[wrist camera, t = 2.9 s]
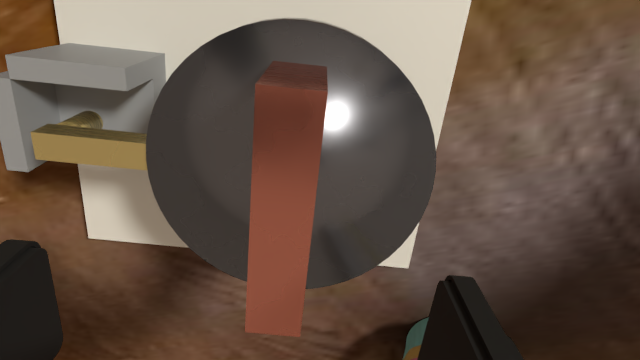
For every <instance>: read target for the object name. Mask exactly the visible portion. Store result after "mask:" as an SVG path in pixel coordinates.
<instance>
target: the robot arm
mask: <svg viewBox="0 0 640 360" xmlns="http://www.w3.org/2000/svg"><path fill="white" fill-rule="evenodd" d="M62 342H63V333H62V327H61V322H60V317H59V312H58V306H57V301H56V296H55V291H54V286H53V280H52V275H51V270H50V265H49V260H48V254H47V251H46V250H45V249H43V248H41V247H40V245H39V244H38V243H37V242H35V241H23V240H6V241H4V242H3V243H1V244H0V360H53V359H54V357H55V356H56V355H57V353H58V352H59V350H60V348H61V345H62ZM417 360H524V359H523V358H522V356H521V354H520V352H519V351H518V349H517V347H516V345H515V344H514V342H513V341H512V340H511V338H509V337H508V336H506V334H505V333H504V331H503V329H502V327H501V325H500V324H499V322H498V320H497V318H496V317H495V315H494V313H493V311H492V310H491V308H490V306H489V304H488V302H487V301H486V299H485V297H484V295H483V294H482V292H481V290H480V288H479V287H478V285H477V283H476V281H475V280H474V279H473V278H472V277H465V276H452V275H449V276H447V277H446V279H445V281H439V283H438V285H437V289H436V292H435V296H434V300H433V303H432V307H431V311H430V314H429V318H428V322H427V325H426V329H425V333H424V337H423V340H422V344H421V348H420V351H419V355H418V359H417Z"/></svg>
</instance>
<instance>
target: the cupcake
mask: <svg viewBox="0 0 640 360" xmlns="http://www.w3.org/2000/svg"><path fill="white" fill-rule="evenodd" d="M428 318H429V317H428ZM428 318H425V319H423V320H421V321H419V322H418V323H416V324H415V325H414V326H413V327H412V328H411V329H410V331H409V333H408V335H407V339H406V347H405V352H404V356H403V359H402V360H417V359H418V355H419V351H420V348H421V344H422V340H423V337H424V333H425V329H426V325H427V322H428Z"/></svg>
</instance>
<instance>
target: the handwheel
mask: <svg viewBox="0 0 640 360" xmlns="http://www.w3.org/2000/svg"><path fill="white" fill-rule="evenodd" d="M102 128H103V120H102V118H101V116H100V115H99V114H97V113H96V112H93V111H83V112H81V113H79V114H77V115H75V116H73V117H71V118H69V119H67V120H64V121H62V122H60V123H58V124H46V125H44V126H42V127H40V128H38V129H36V130H34V131H31V132H30V133H31V138H32V143H33V149H34V154H35V159H37V160H47V161H57V162H67V163H77V164H87V165H97V166H107V167H117V168H127V169H137V170H147V171H148V177H149V180H150V184H151V187H152V191H153V194H154V196H155V199H156V201H157V203H158V206H159V208H160V210H161V212H162V213H163V215H164V217H165V218H166V220H167V222H168V223H169V225H170V226H171V227H172V229H173V230H174V231H175V233H176V234H177V235H178V236H179V238H180V239H181V240H182V241H183V242H184V243H185V244H186V245H187V246H188V247H189V248H190V249H191V250H192V251H194V252H195V253H196V254H197V255H198V256H200V257H201V258H202V259H203V260H205V261H206V262H208V263H209V264H211V265H213V266H214V267H216V268H217V269H219V270H221V271H223V272H225V273H227V274H229V275H231V276H233V277H236V278H238V279H241V280H244V281H247V299H246V323H245V332H249V333H261V334H272V335H283V336H295V337H300V332H301V323H302V315H303V306H304V297H305V289H313V288H319V287H325V286H331V285H334V284H338V283H341V282H344V281H347V280H350V279H352V278H355V277H357V276H359V275H362V274H364V273H365V272H367V271H369V270H371V269H373V268H374V267H376V266H377V265H379V264H380V263H382V262H383V261H384V260H386V259H387V258H389V257H390V256H391V255H392V254H393V253H394V252H395V251H396V250H397V249H398V248H399V247H401V245H402V244H403V243H404V242H405V241H406V240H407V238H408V237H409V236H410V235H411V234H412V232H413V231H414V229H415V227H416V226H417V224H418V223H419V221H420V220H421V218H422V215H423V213H424V211H425V209H426V207H427V205H428V202H429V199H430V196H431V192H432V189H433V184H434V178H435V172H436V148H435V139H434V133H433V130H432V126H431V122H430V118H429V116H428V113H427V111H426V109H425V106H424V104H423V102H422V99H421V98H420V96H419V94H418V93H417V91H416V90H415V88H414V86H413V85H412V83H411V82H410V81H409V79H408V78H407V77H406V76H405V74H404V73H403V72H402V71H401V70H400V68H399V67H398V66H397V65H396V64H395V63H394V62H393V61H392V60H391V59H389V58H388V57H387V56H386V55H385V54H384V53H383V52H382V51H381V50H380V49H378V48H377V47H376V46H374V45H373V44H371V43H370V42H368V41H367V40H365V39H364V38H363V37H361V36H359V35H357V34H355V33H353V32H351V31H349V30H347V29H345V28H342V27H339V26H336V25H333V24H330V23H327V22H323V21H317V20H312V19H306V18H276V19H266V20H262V21H258V22H254V23H250V24H246V25H243V26H241V27H238V28H236V29H233V30H231V31H228V32H226V33H223V34H221V35H219V36H217V37H215V38H214V39H212V40H210V41H208V42H207V43H205V44H203V45H202V46H200V47H199V48H198V49H197V50H195V51H194V52H193V53H192V54H190V55H189V56H188V57H187V58H186V59H185V60H184V61H183V62H182V63H181V64H180V65H179V66H178V67H177V68H176V70H175V71H174V72H173V73H172V74H171V76H170V77H169V79H168V80H167V82H166V83H165V85H164V86H163V88H162V89H161V92H160V94H159V96H158V98H157V100H156V102H155V104H154V107H153V110H152V113H151V117H150V120H149V123H148V130H147V134H145V133H135V132H125V131H115V130H106V129H102Z"/></svg>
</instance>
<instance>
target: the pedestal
mask: <svg viewBox="0 0 640 360" xmlns="http://www.w3.org/2000/svg"><path fill="white" fill-rule="evenodd" d="M470 4H471V0H54V6H55V13H56V20H57V27H58V33H59V40H60V45H55V46H50V47H45V48H40V49H34V50H29V51H24V52H18V53H13V54H8V55H5V57H6V62H7V67H8V71H6V72H2V73H0V141H1V145H2V150H3V154H4V159H5V163H6V167H7V170H12V171H22V172H30V171H31V170H33V169H35V168H36V167H38V166H40V165H41V164H43V163H45V162H46V161H47V160H37V159H35V154H34V149H33V143H32V138H31V133H30V132H31V131H34V130H36V129H38V128H40V127H42V126H44V125H46V124H58V123H60V122H62V121H64V120H67V119H69V118H71V117H73V116H75V115H77V114H79V113H81V112H83V111H93V112H96V113H97V114H99V115H100V116H101V118H102V120H103V128H102V129H106V130H115V131H125V132H135V133H145V134H147V130H148V123H149V120H150V117H151V113H152V110H153V107H154V104H155V102H156V100H157V98H158V96H159V94H160V92H161V89H162V88H163V86H164V85H165V83H166V82H167V80H168V79H169V77H170V76H171V74H172V73H173V72H174V71H175V70H176V68H177V67H178V66H179V65H180V64H181V63H182V62H183V61H184V60H185V59H186V58H187V57H188V56H189V55H190V54H192V53H193V52H194V51H195V50H197V49H198V48H199V47H200V46H202V45H203V44H205V43H207V42H208V41H210V40H212V39H214V38H215V37H217V36H219V35H221V34H223V33H226V32H228V31H231V30H233V29H236V28H238V27H241V26H243V25H246V24H250V23H254V22H258V21H262V20H266V19H276V18H306V19H312V20H317V21H323V22H327V23H330V24H333V25H336V26H339V27H342V28H345V29H347V30H349V31H351V32H353V33H355V34H357V35H359V36H361V37H363V38H364V39H365V40H367V41H368V42H370V43H371V44H373V45H374V46H376V47H377V48H378V49H380V50H381V51H382V52H383V53H384V54H385V55H386V56H387V57H388V58H389V59H391V60H392V61H393V62H394V63H395V64H396V65H397V66H398V67H399V68H400V70H401V71H402V72H403V73H404V74H405V76H406V77H407V78H408V79H409V81H410V82H411V83H412V85H413V86H414V88H415V90H416V91H417V93H418V94H419V96H420V98H421V99H422V102H423V104H424V106H425V109H426V111H427V113H428V116H429V118H430V122H431V126H432V130H433V133H434V139H435V148H437V144H438V140H439V136H440V131H441V127H442V123H443V119H444V114H445V110H446V106H447V102H448V97H449V93H450V89H451V85H452V80H453V76H454V72H455V68H456V63H457V59H458V55H459V51H460V46H461V42H462V38H463V34H464V29H465V25H466V21H467V17H468V12H469V8H470ZM78 170H79V177H80V184H81V190H82V197H83V204H84V211H85V218H86V225H87V231H88V238H91V239H102V240H113V241H123V242H134V243H144V244H155V245H166V246H176V247H187V248H189V247H188V246H187V245H186V244H185V243H184V242H183V241H182V240H181V239H180V238H179V236H178V235H177V234H176V233H175V231H174V230H173V229H172V227H171V226H170V225H169V223H168V222H167V220H166V218H165V217H164V215H163V213H162V212H161V210H160V208H159V206H158V203H157V201H156V199H155V196H154V194H153V191H152V187H151V184H150V180H149V177H148V171H147V170H137V169H127V168H117V167H107V166H97V165H87V164H78ZM418 225H419V223H418V224H417V226H416V227H415V229H414V231H413V232H412V234H411V235H410V236H409V237H408V238H407V240H406V241H405V242H404V243H403V244H402V245H401V247H399V248H398V249H397V250H396V251H395V252H394V253H393V254H392V255H391V256H390V257H389V258H387V259H386V260H384V261H383V262H382V263H380V264H379V265H378V266H388V267H399V268H408V267H409V263H410V259H411V255H412V250H413V246H414V242H415V238H416V233H417V229H418Z"/></svg>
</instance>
